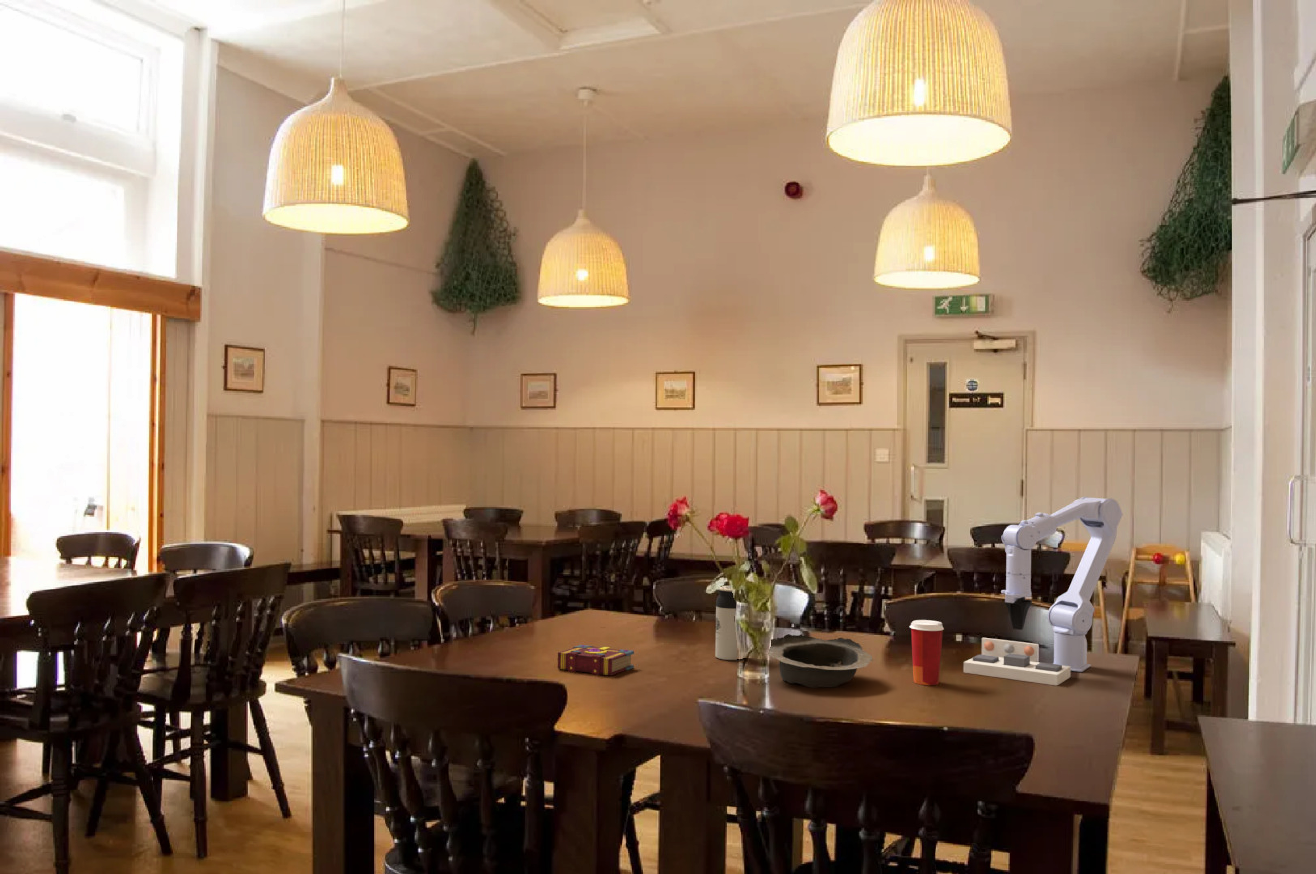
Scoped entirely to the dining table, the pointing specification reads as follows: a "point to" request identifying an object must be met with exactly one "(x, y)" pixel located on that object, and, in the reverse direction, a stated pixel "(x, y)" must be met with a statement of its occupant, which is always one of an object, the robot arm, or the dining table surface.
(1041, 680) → the button board
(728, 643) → the travel mug
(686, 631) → the dining table surface
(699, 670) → the dining table surface
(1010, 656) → the button middle
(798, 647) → the stone bowl
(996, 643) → the card
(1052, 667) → the button cup side
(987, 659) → the button mug side
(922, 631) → the paper cup
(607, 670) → the decorative book
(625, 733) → the dining table surface
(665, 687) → the dining table surface
